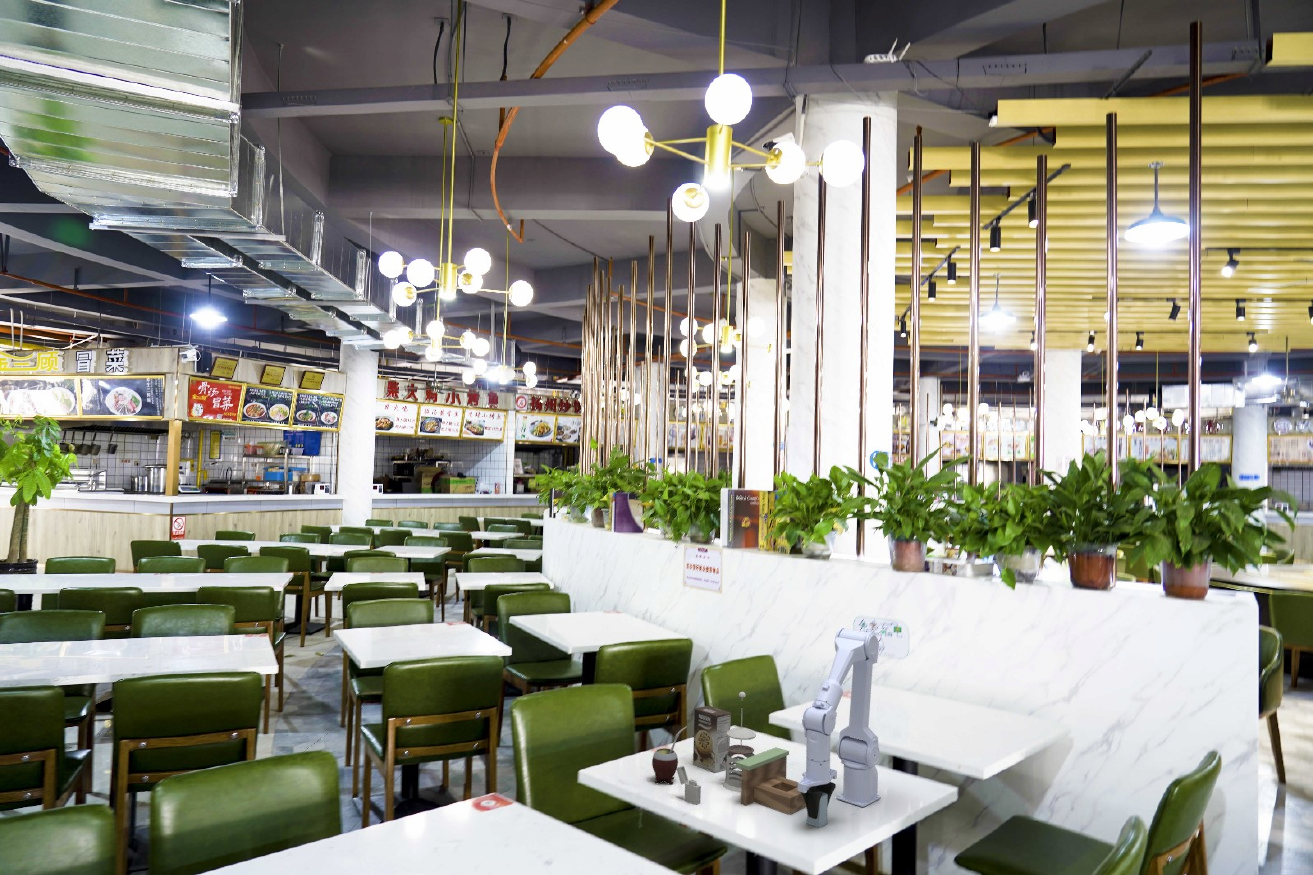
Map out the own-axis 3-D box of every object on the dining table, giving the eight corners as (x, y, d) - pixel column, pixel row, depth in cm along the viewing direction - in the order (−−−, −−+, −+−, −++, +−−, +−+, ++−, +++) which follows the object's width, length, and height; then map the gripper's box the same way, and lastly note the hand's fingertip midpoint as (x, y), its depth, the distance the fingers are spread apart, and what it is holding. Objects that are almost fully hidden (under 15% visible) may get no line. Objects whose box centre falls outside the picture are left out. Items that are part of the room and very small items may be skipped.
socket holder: (775, 784, 226) (776, 747, 226) (821, 799, 216) (822, 760, 217) (734, 801, 213) (735, 762, 213) (781, 818, 203) (782, 777, 203)
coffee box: (691, 764, 240) (693, 708, 241) (707, 760, 244) (708, 704, 245) (714, 773, 233) (716, 715, 234) (730, 768, 238) (731, 711, 239)
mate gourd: (646, 779, 227) (648, 724, 228) (668, 774, 232) (670, 719, 233) (663, 788, 221) (665, 731, 222) (686, 782, 226) (687, 726, 227)
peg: (814, 819, 203) (815, 790, 204) (827, 823, 201) (827, 794, 201) (806, 823, 201) (807, 793, 201) (819, 827, 198) (819, 797, 199)
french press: (756, 793, 219) (758, 697, 220) (713, 789, 221) (715, 694, 223) (759, 780, 229) (761, 689, 230) (717, 776, 231) (720, 685, 232)
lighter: (700, 803, 211) (701, 771, 212) (696, 805, 210) (697, 772, 211) (679, 795, 216) (680, 764, 217) (675, 797, 215) (676, 765, 215)
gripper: (820, 747, 210) (819, 802, 209) (787, 760, 199) (786, 818, 198) (844, 754, 205) (843, 810, 204) (812, 768, 194) (811, 827, 193)
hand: (817, 815), depth 201 cm, fingers closed on peg, 3 cm apart
